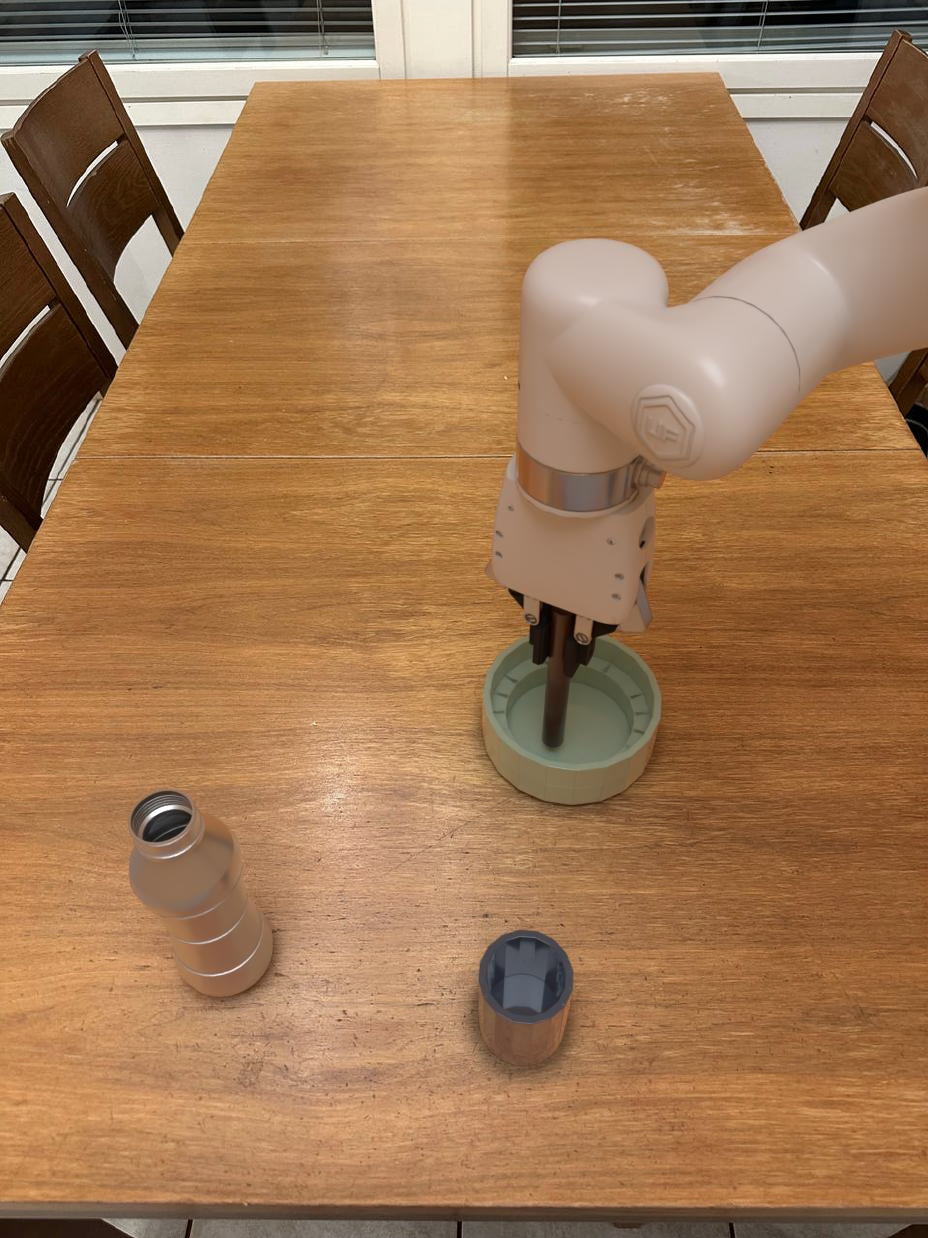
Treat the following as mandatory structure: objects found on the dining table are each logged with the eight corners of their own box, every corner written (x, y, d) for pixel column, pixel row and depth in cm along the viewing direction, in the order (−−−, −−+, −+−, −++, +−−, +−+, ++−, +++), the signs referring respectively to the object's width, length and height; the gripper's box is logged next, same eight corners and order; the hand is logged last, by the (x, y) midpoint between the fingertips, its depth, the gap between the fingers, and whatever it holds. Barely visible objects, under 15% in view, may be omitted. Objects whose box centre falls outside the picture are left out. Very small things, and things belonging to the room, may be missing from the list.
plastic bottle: (189, 921, 69) (109, 770, 54) (282, 914, 69) (228, 763, 55) (177, 1010, 65) (87, 873, 50) (276, 1003, 65) (216, 865, 50)
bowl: (676, 705, 82) (686, 665, 78) (613, 836, 73) (620, 798, 69) (528, 647, 86) (530, 606, 82) (453, 763, 78) (451, 724, 74)
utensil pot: (578, 1003, 65) (588, 956, 59) (542, 1083, 61) (548, 1041, 56) (503, 963, 67) (505, 914, 61) (464, 1039, 63) (462, 994, 57)
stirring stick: (567, 735, 78) (582, 602, 66) (558, 751, 76) (571, 619, 65) (547, 726, 78) (558, 593, 66) (537, 743, 77) (547, 610, 65)
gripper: (728, 462, 56) (680, 661, 69) (489, 390, 61) (488, 589, 74) (684, 539, 51) (642, 736, 65) (431, 455, 56) (442, 654, 70)
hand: (560, 656), depth 70 cm, fingers closed on stirring stick, 1 cm apart
